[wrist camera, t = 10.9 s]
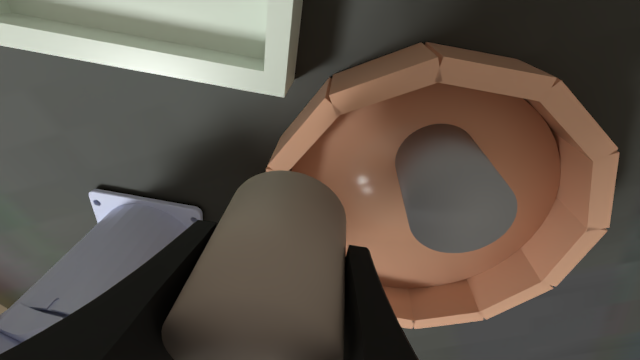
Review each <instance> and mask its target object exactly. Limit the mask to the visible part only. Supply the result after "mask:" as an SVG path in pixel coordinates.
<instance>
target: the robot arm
mask: <svg viewBox="0 0 640 360" xmlns="http://www.w3.org/2000/svg"><path fill="white" fill-rule="evenodd" d="M89 198H90V201H91V204H92V207H93V210H94V213H95V216H96V219H97V222H98V224H97V225H96V226H95V227H94V228H93V229H91V230H90V231H89V232H88V233H87V234H86V235H85V236H84V237H83V238H82V239H81V240H80V241H79V242H78V243H77V244H76V245H75V246H74V247H73V248H72V249H71V250H70V251H68V252H67V253H66V254H65V255H64V256H63V257H62V258H61V259H60V260H59V261H58V262H57V263H56V264H55V265H54V266H53V267H52V268H51V269H50V270H49V271H48V272H47V273H46V274H44V275H43V276H42V277H41V278H40V279H39V280H38V281H37V282H36V283H35V284H34V285H33V286H32V287H31V288H30V289H29V290H28V291H27V292H26V293H25V294H24V295H23V296H21V297H20V298H19V299H18V300H17V301H16V302H15V303H14V304H13V305H12V306H11V307H10V308H9V309H8V310H6V311H5V312H3V313H2V314H1V315H0V360H174V359H173V358H172V357H171V356H170V354H169V353H168V352H167V350H166V348H165V346H164V344H163V341H162V333H161V331H162V326H163V324H164V322H165V320H166V318H167V316H168V314H169V313H170V311H171V309H172V307H173V305H174V303H175V302H176V300H177V298H178V296H179V294H180V293H181V291H182V289H183V287H184V285H185V283H186V282H187V280H188V278H189V276H190V274H191V272H192V271H193V269H194V267H195V265H196V263H197V261H198V260H199V258H200V256H201V254H202V252H203V251H204V249H205V247H206V245H207V243H208V241H209V240H210V238H211V236H212V234H213V232H214V230H215V229H216V223H214V222H208V221H203V214H202V210H201V209H200V208H198V207H196V206H191V205H185V204H180V203H174V202H168V201H163V200H157V199H151V198H146V197H140V196H135V195H129V194H123V193H118V192H112V191H107V190H101V189H93V190H91V191H90V192H89ZM193 217H194V218H193ZM195 218H196V219H195ZM343 360H419V359H418V357H417V356H416V354H415V352H414V350H413V348H412V347H411V345H410V343H409V341H408V339H407V337H406V335H405V333H404V332H403V330H402V328H401V326H400V324H399V322H398V320H397V318H396V316H395V313H394V311H393V309H392V307H391V305H390V302H389V300H388V298H387V296H386V294H385V291H384V289H383V287H382V284H381V282H380V279H379V276H378V274H377V271H376V269H375V266H374V263H373V260H372V257H371V254H370V251H369V249H368V248H367V247H361V246H355V245H349V247H348V250H347V254H346V262H345V309H344V356H343Z"/></svg>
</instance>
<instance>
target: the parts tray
mask: <svg viewBox="0 0 640 360" xmlns="http://www.w3.org/2000/svg"><path fill="white" fill-rule="evenodd" d="M302 5H303V0H0V45H1V46H6V47H12V48H17V49H23V50H28V51H33V52H39V53H44V54H50V55H55V56H61V57H66V58H71V59H77V60H82V61H88V62H93V63H99V64H104V65H110V66H115V67H120V68H126V69H131V70H137V71H142V72H148V73H153V74H158V75H164V76H169V77H175V78H180V79H186V80H191V81H196V82H202V83H207V84H213V85H218V86H224V87H229V88H234V89H240V90H245V91H251V92H256V93H262V94H267V95H273V96H278V97H283V98H284V97H285V95H286V93H287V92H288V90H289V88H290V87H291V85H292V83H293V81H294V78H295V69H296V60H297V51H298V42H299V33H300V24H301V14H302Z"/></svg>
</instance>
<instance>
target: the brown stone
mask: <svg viewBox="0 0 640 360" xmlns="http://www.w3.org/2000/svg"><path fill="white" fill-rule="evenodd" d="M345 262H346V214H345V210H344V207H343V205H342V203H341V201H340V200H339V198H338V197H337V195H336V194H335V193H334V192H333V191H332V190H331V189H330V188H329V187H328V186H326V185H325V184H323V183H322V182H321V181H319V180H317V179H315V178H313V177H311V176H308V175H306V174H302V173H298V172H293V171H283V170H278V171H269V172H264V173H261V174H258V175H255V176H253V177H251V178H250V179H248V180H247V181H245V182H244V183H243V184H242V185H241V186H240V187H239V188H238V189H237V191H236V192H235V194H234V196H233V198H232V199H231V201H230V203H229V205H228V207H227V209H226V210H225V212H224V214H223V216H222V218H221V219H220V221H219V223H218V225H217V227H216V229H215V230H214V232H213V234H212V236H211V238H210V240H209V241H208V243H207V245H206V247H205V249H204V251H203V252H202V254H201V256H200V258H199V260H198V261H197V263H196V265H195V267H194V269H193V271H192V272H191V274H190V276H189V278H188V280H187V282H186V283H185V285H184V287H183V289H182V291H181V293H180V294H179V296H178V298H177V300H176V302H175V303H174V305H173V307H172V309H171V311H170V313H169V314H168V316H167V318H166V320H165V322H164V324H163V326H162V331H161V333H162V341H163V344H164V346H165V348H166V350H167V352H168V353H169V354H170V356H171V357H172V358H173V359H174V360H343V356H344V309H345Z"/></svg>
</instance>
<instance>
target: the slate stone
mask: <svg viewBox="0 0 640 360" xmlns="http://www.w3.org/2000/svg"><path fill="white" fill-rule="evenodd" d="M395 167H396V172H397V176H398V181H399V185H400V189H401V193H402V198H403V202H404V206H405V210H406V215H407V219H408V223H409V227H410V230H411V232H412V234H413V236H414V237H415V238H416V240H418V241H419V242H420V243H421V244H422V245H424V246H426V247H428V248H430V249H432V250H435V251H439V252H444V253H464V252H470V251H474V250H477V249H480V248H483V247H485V246H487V245H489V244H491V243H493V242H494V241H496V240H497V239H499V238H500V237H501V236H502V235H504V234H505V233H506V232H507V230H508V229H509V228H510V227H511V225H512V223H513V222H514V220H515V217H516V214H517V200H516V196H515V194H514V192H513V191H512V189H511V188H510V187H509V185H508V184H507V183H506V182H505V180H504V179H503V178H502V176H501V175H500V174H499V172H498V171H497V170H496V169H495V167H494V166H493V165H492V163H491V162H490V161H489V159H488V158H487V157H486V155H485V154H484V153H483V152H482V150H481V149H480V148H479V146H478V145H477V144H476V142H475V141H474V140H473V138H472V137H471V136H470V135H469V134H468V133H467V132H466V131H465V130H463V129H462V128H460V127H457V126H455V125H451V124H433V125H428V126H425V127H423V128H420V129H418V130H416V131H415V132H413V133H412V134H410V135H409V136H408V137H407V138H406V139H405V140H404V141H403V143H402V144H401V145H400V147H399V149H398V151H397V154H396V158H395Z"/></svg>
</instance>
